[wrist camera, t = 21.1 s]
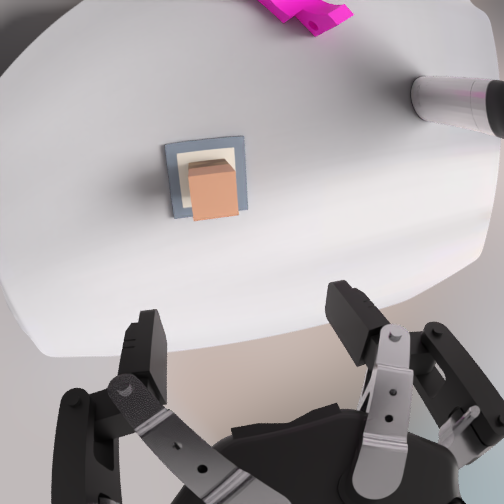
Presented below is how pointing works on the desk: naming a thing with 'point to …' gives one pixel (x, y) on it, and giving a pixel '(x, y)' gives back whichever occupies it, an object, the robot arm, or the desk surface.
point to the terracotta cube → (213, 192)
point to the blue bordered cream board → (202, 151)
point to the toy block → (309, 13)
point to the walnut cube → (207, 163)
